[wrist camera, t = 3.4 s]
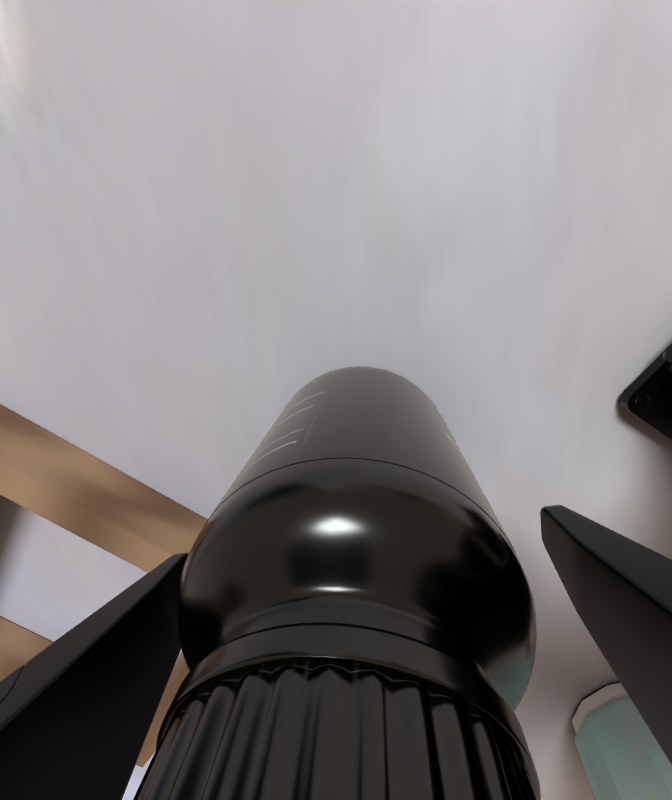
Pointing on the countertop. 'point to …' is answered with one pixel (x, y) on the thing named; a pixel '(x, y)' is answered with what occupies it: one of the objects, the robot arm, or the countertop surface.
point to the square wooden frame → (89, 525)
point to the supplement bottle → (351, 617)
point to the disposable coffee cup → (620, 749)
